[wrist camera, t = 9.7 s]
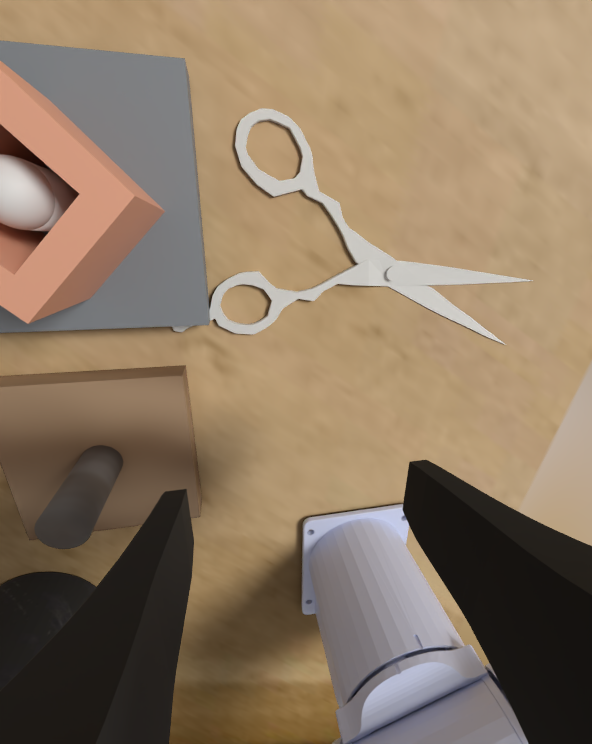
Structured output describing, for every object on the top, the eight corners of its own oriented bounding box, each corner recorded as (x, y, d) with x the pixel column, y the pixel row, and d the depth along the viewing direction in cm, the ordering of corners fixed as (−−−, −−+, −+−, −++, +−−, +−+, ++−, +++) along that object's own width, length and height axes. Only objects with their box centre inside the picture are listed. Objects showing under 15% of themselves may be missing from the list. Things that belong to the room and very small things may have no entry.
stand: (201, 499, 21) (193, 589, 16) (43, 519, 20) (-29, 626, 14) (185, 365, 18) (167, 419, 12) (-6, 376, 16) (-124, 444, 11)
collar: (165, 211, 14) (134, 195, 9) (90, 298, 15) (27, 324, 10) (49, 100, 12) (-60, 12, 8) (-31, 206, 13) (-177, 184, 8)
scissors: (206, 83, 14) (568, 223, 19) (207, 90, 14) (556, 224, 20) (170, 330, 17) (489, 393, 22) (173, 326, 18) (480, 388, 23)
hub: (210, 318, 17) (202, 353, 12) (-11, 325, 16) (-141, 371, 10) (188, 77, 14) (163, -34, 8) (-102, 51, 12) (-381, -112, 6)
